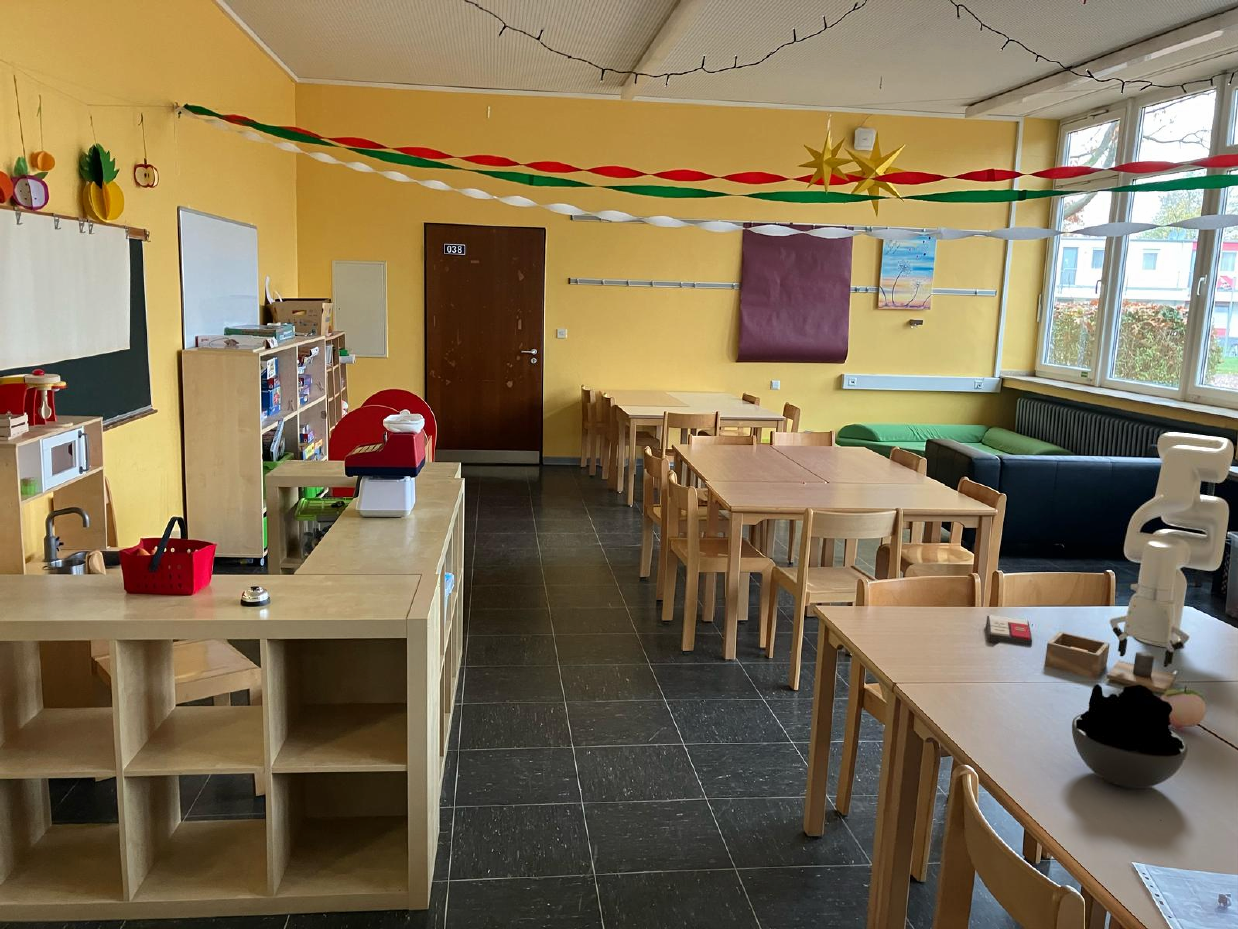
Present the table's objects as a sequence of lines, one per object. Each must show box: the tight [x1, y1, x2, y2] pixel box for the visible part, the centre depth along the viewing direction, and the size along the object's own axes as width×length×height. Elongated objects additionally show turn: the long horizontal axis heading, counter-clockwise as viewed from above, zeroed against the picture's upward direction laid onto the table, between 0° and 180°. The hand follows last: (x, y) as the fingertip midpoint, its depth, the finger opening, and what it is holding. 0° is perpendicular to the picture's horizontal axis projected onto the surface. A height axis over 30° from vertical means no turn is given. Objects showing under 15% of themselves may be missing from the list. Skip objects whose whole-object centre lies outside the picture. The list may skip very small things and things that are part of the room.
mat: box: [1100, 670, 1181, 698], centre depth 244 cm, size 15×15×1 cm
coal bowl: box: [1071, 683, 1189, 789], centre depth 193 cm, size 20×20×19 cm
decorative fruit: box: [1161, 685, 1207, 730], centre depth 219 cm, size 9×8×10 cm
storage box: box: [1044, 631, 1111, 680], centre depth 253 cm, size 12×12×7 cm
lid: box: [1106, 651, 1177, 693], centre depth 244 cm, size 13×13×7 cm
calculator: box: [985, 614, 1033, 647], centre depth 275 cm, size 11×4×15 cm
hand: (1144, 660), depth 243 cm, fingers open, 9 cm apart
